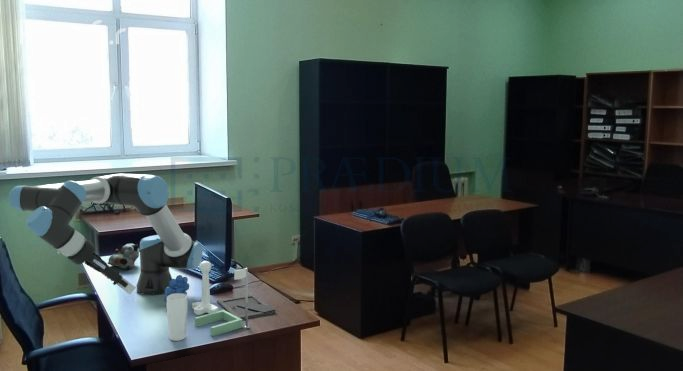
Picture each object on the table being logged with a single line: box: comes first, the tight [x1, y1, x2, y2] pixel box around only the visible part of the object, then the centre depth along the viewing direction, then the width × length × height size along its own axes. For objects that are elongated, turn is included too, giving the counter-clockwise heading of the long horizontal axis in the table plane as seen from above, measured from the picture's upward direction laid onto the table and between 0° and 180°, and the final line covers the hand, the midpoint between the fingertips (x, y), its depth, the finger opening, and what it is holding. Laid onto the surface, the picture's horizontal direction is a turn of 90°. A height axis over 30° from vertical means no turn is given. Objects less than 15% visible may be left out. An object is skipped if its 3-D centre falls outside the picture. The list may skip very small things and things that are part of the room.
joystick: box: [191, 260, 219, 316], centre depth 222 cm, size 11×8×20 cm
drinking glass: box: [166, 293, 188, 342], centre depth 198 cm, size 7×7×15 cm
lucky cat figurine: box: [107, 242, 140, 271], centre depth 277 cm, size 15×12×14 cm
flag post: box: [233, 267, 251, 330], centre depth 207 cm, size 2×6×22 cm, turn 133°
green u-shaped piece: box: [194, 309, 243, 337], centre depth 210 cm, size 12×12×3 cm
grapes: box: [164, 274, 190, 303], centre depth 230 cm, size 12×7×12 cm, turn 143°
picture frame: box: [216, 294, 276, 321], centre depth 229 cm, size 16×2×21 cm
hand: (132, 290), depth 185 cm, fingers closed
